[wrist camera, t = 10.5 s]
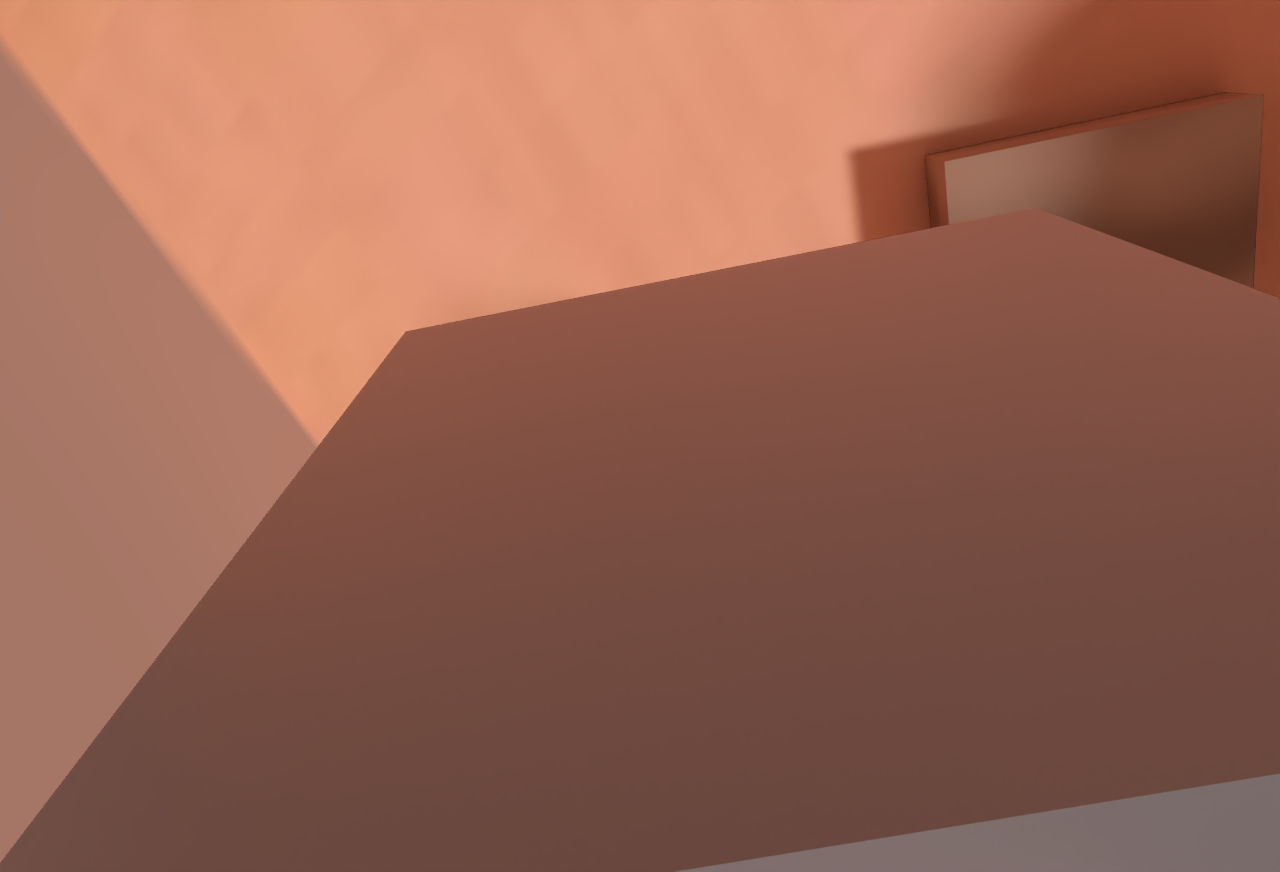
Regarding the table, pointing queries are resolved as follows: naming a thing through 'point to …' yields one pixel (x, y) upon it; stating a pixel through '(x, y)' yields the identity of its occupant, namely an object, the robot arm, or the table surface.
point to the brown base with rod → (1126, 179)
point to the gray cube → (750, 589)
